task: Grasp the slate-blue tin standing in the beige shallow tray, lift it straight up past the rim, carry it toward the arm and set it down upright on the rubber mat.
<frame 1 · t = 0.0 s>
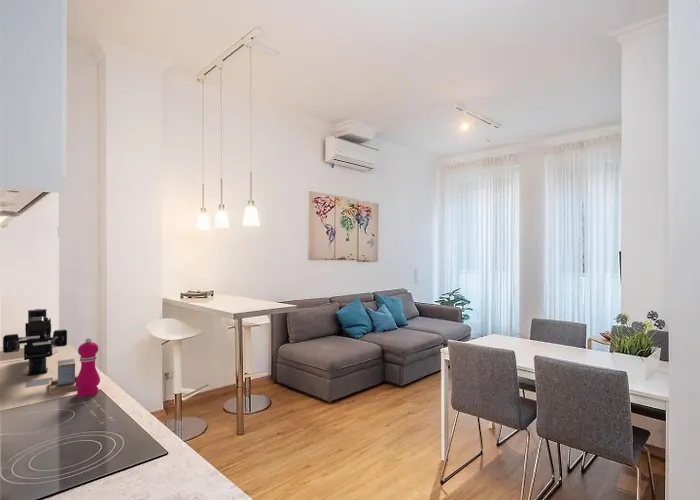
hand: (35, 345, 141), 17 cm above the counter, tool horizontal, fingers open, 9 cm apart
pepper mill: (87, 394, 139), on the counter
beige shallow tray: (66, 387, 145), on the counter
tin: (66, 386, 145), resting on beige shallow tray
mat: (39, 383, 149), on the counter
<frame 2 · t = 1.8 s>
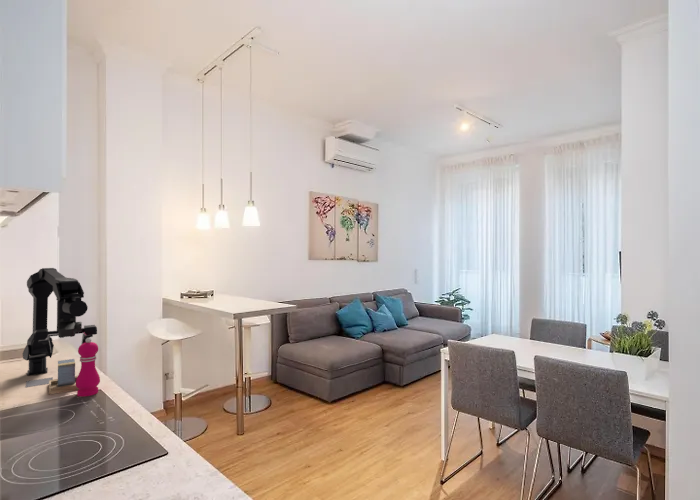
hand: (66, 355, 145), 12 cm above the counter, tool pointing down, fingers open, 9 cm apart
nothing on the counter moved.
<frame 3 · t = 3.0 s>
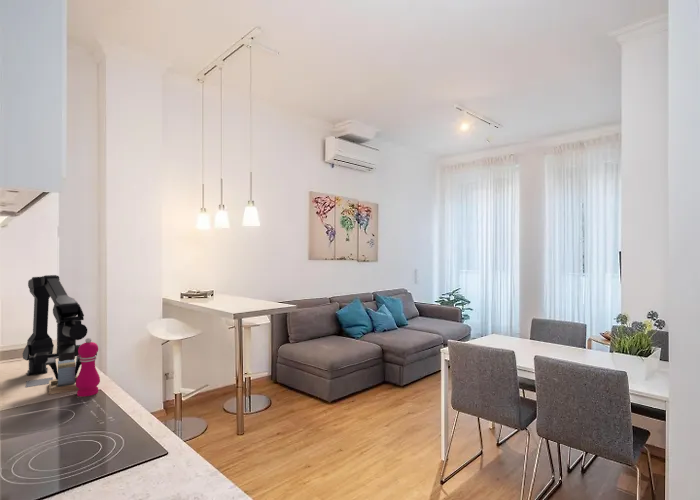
hand: (66, 378, 145), 4 cm above the counter, tool pointing down, fingers closed on tin, 5 cm apart
tin: (66, 386, 145), resting on beige shallow tray, touching gripper
everything else where it was.
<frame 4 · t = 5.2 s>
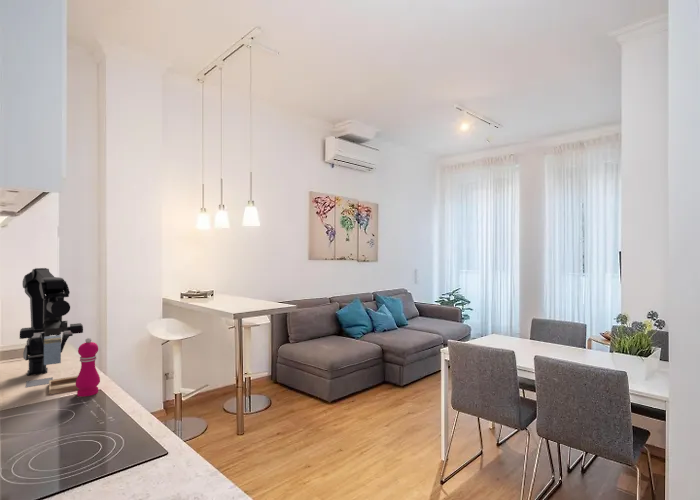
hand: (52, 353, 147), 12 cm above the counter, tool pointing down, fingers closed on tin, 5 cm apart
tin: (52, 361, 148), point 9 cm above the counter, touching gripper
everything else where it was.
when the fingers open (4 cm above the counter, at t = 7.4 s): tin stays where it is, resting on mat.
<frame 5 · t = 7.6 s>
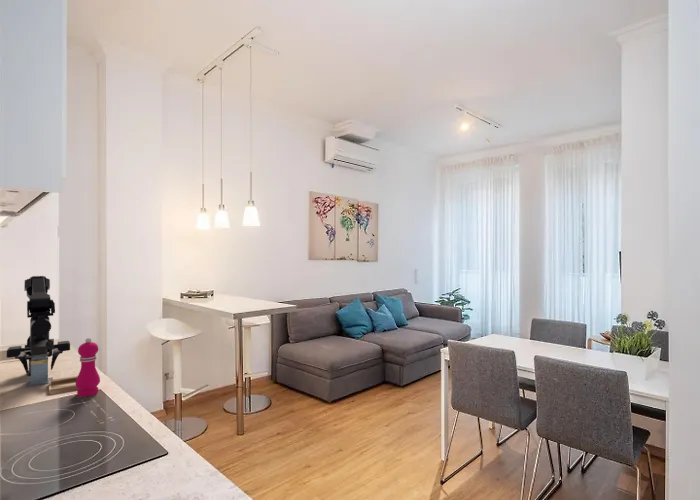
hand: (39, 371, 149), 4 cm above the counter, tool pointing down, fingers open, 7 cm apart
tin: (39, 382, 149), resting on mat
everything else where it was.
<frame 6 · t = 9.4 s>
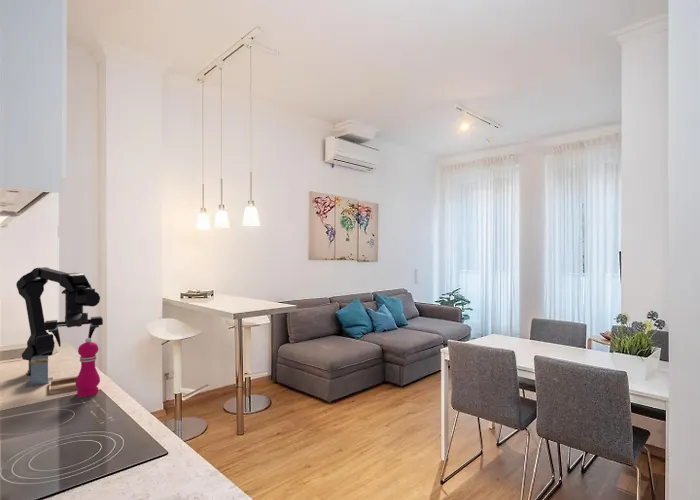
hand: (74, 344, 155), 13 cm above the counter, tool pointing down, fingers open, 9 cm apart
nothing on the counter moved.
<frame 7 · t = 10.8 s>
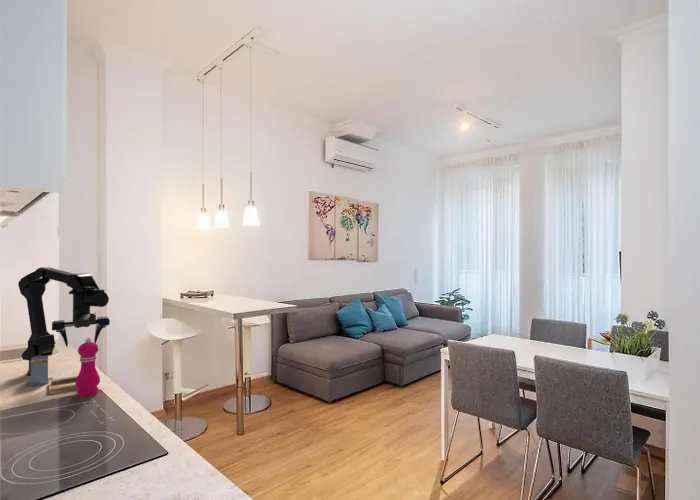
hand: (81, 344, 156), 13 cm above the counter, tool pointing down, fingers open, 9 cm apart
nothing on the counter moved.
at the end: tin 0.1 cm from the mat (horizontally); tin resting on mat; tin tilted 0° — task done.
